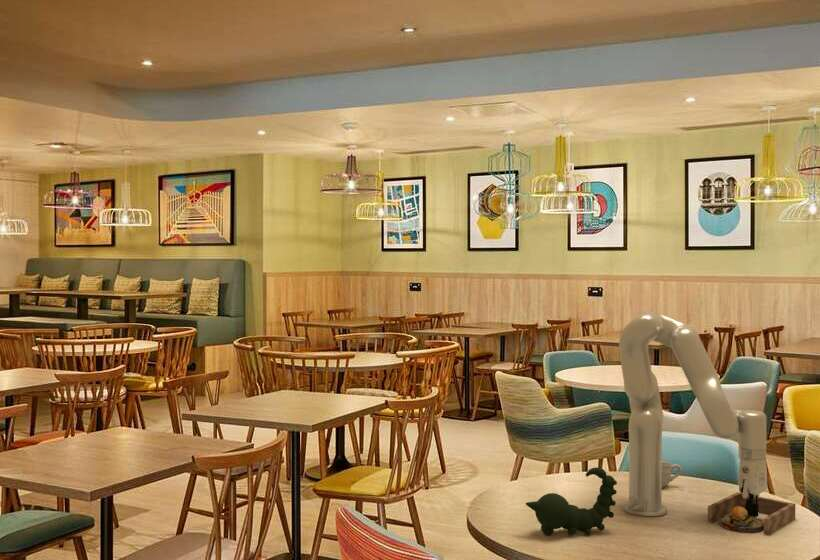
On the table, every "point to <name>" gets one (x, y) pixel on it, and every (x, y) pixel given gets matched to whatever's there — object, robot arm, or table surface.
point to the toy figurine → (575, 509)
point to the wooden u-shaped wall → (775, 509)
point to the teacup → (669, 472)
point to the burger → (741, 521)
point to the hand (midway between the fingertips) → (751, 515)
